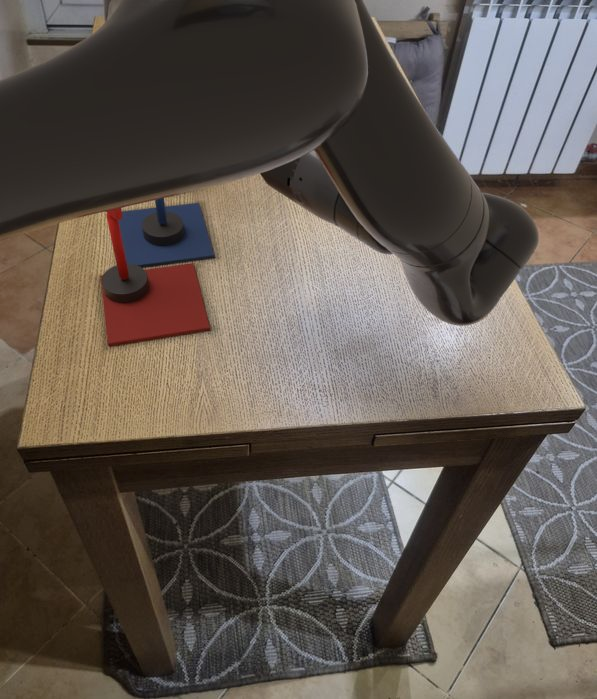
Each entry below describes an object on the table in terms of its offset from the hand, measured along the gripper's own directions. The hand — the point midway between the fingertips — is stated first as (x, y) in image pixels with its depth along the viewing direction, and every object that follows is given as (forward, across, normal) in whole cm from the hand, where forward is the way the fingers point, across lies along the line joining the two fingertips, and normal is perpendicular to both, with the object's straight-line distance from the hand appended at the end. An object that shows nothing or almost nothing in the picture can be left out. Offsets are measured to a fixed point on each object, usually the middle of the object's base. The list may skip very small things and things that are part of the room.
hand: (207, 101), depth 63 cm
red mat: (+1, +9, +24) cm, 26 cm away
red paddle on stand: (+5, +10, +24) cm, 26 cm away
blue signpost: (+11, 0, +24) cm, 26 cm away
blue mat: (+11, 0, +24) cm, 27 cm away
